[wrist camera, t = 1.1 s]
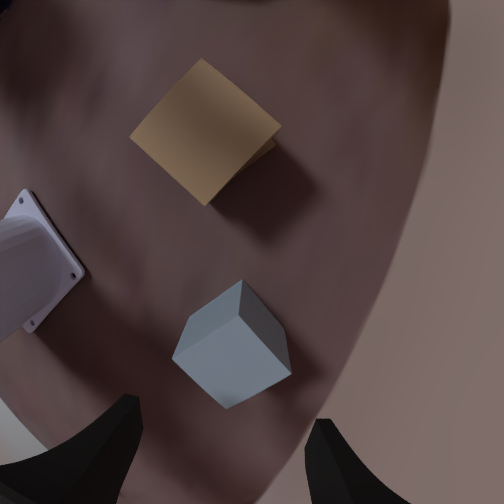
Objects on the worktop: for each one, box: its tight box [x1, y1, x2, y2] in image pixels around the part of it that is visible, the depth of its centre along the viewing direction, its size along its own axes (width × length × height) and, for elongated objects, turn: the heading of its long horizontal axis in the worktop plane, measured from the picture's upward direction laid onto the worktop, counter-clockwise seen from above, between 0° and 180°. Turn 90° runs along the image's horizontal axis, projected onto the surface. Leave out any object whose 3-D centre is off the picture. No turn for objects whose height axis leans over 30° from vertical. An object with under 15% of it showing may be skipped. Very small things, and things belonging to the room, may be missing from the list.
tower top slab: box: [130, 58, 282, 206], centre depth 14 cm, size 5×5×2 cm
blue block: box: [172, 279, 292, 409], centre depth 18 cm, size 4×4×5 cm
